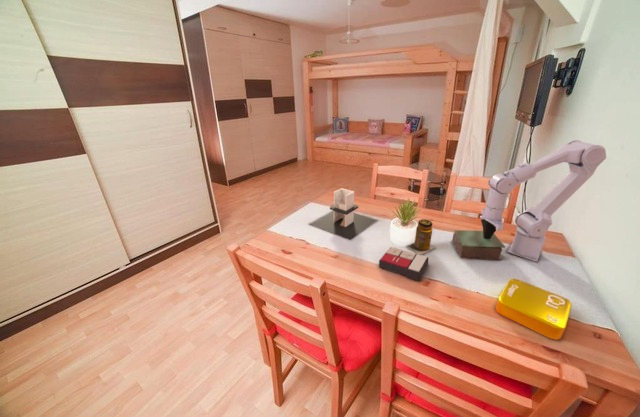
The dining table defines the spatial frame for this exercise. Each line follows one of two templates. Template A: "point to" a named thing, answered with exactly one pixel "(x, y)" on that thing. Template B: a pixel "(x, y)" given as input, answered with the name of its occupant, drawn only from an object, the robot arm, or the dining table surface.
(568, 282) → the dining table surface
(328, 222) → the candle holder
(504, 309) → the element tile
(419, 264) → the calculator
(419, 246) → the condiment
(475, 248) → the brown box
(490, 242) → the sage green tile
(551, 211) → the robot arm
